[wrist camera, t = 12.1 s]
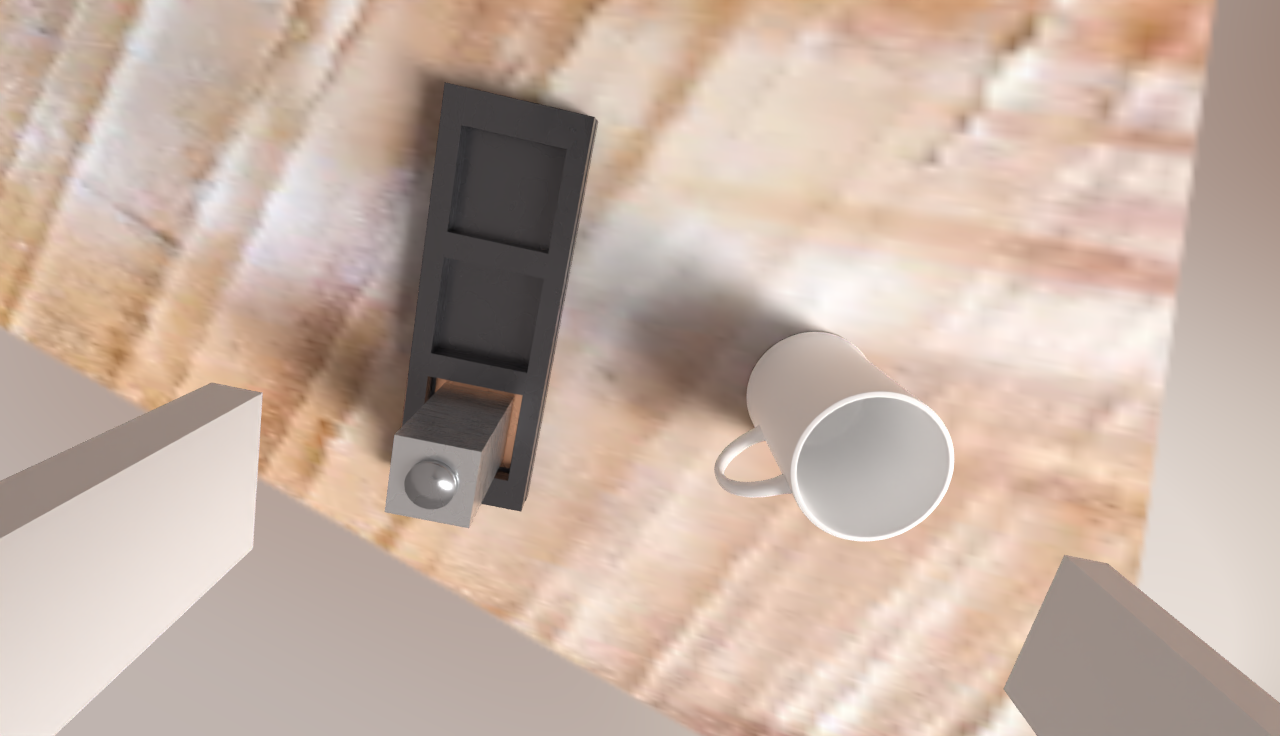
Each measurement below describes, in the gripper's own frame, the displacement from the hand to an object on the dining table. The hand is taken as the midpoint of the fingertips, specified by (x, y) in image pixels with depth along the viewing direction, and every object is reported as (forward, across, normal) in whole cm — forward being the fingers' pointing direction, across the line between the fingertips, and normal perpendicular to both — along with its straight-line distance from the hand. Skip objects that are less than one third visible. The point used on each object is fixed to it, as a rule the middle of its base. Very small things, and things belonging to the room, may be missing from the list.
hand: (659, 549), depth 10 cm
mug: (+32, +11, -6) cm, 34 cm away
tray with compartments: (+32, -9, -4) cm, 33 cm away
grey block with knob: (+30, -9, -12) cm, 34 cm away
